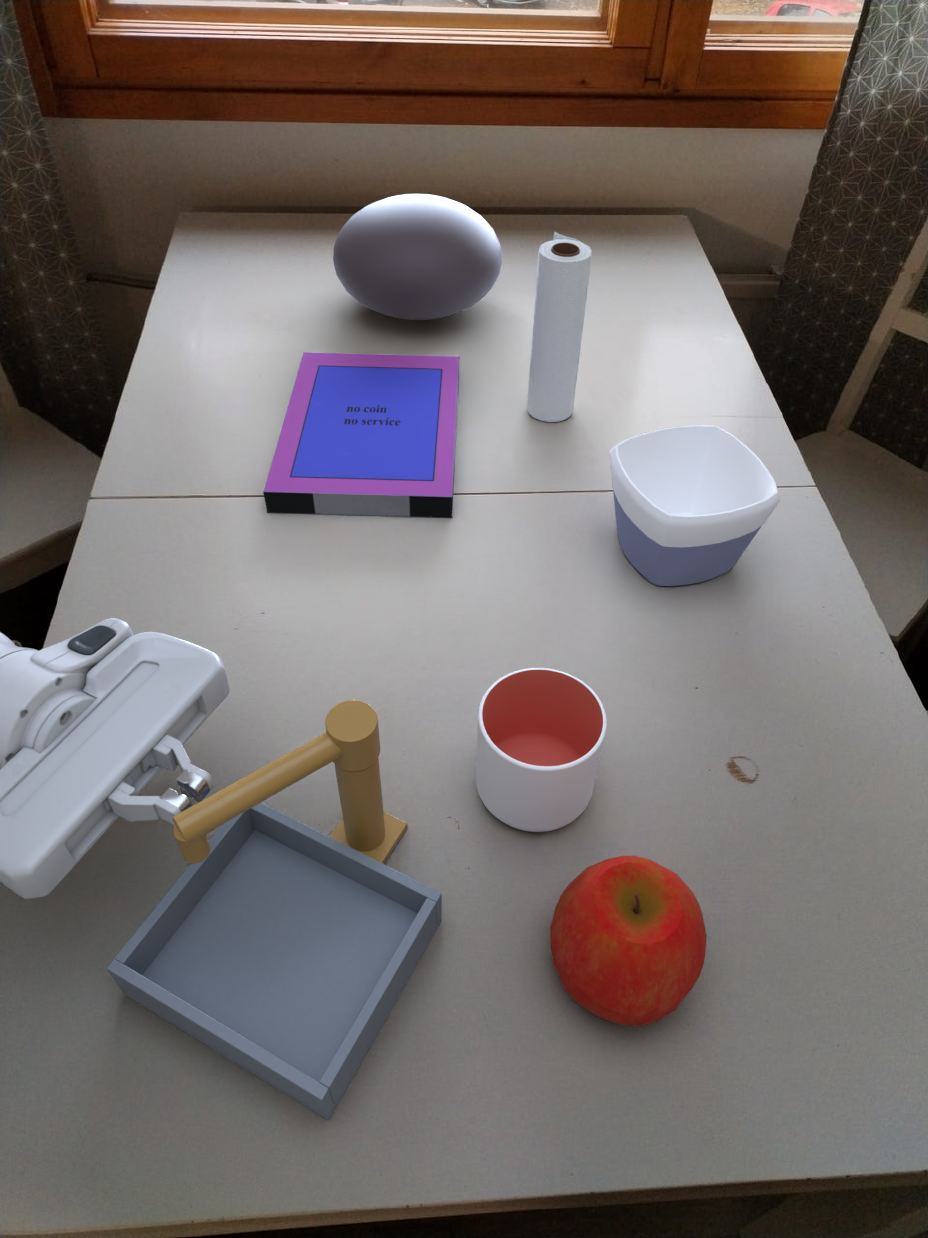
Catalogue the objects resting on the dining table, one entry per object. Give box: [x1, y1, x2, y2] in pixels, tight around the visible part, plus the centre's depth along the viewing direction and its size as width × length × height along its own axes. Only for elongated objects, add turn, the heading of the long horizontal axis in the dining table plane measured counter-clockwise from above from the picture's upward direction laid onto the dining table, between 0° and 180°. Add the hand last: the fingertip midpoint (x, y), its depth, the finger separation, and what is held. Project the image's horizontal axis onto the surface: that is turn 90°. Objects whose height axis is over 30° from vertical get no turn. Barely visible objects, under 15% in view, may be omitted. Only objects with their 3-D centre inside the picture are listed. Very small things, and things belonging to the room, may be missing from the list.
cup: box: [475, 667, 608, 833], centre depth 73 cm, size 10×10×10 cm
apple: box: [549, 855, 707, 1027], centre depth 62 cm, size 11×11×11 cm
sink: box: [106, 802, 443, 1121], centre depth 64 cm, size 16×18×4 cm
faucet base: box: [329, 757, 408, 865], centre depth 68 cm, size 5×5×12 cm
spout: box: [172, 699, 381, 864], centre depth 61 cm, size 15×4×5 cm, turn 127°
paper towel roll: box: [526, 231, 593, 423], centre depth 109 cm, size 7×6×21 cm
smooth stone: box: [332, 193, 503, 321], centre depth 130 cm, size 25×25×15 cm
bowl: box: [608, 424, 781, 587], centre depth 94 cm, size 15×15×11 cm
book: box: [262, 351, 461, 519], centre depth 110 cm, size 21×3×30 cm
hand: (196, 801), depth 59 cm, fingers closed
